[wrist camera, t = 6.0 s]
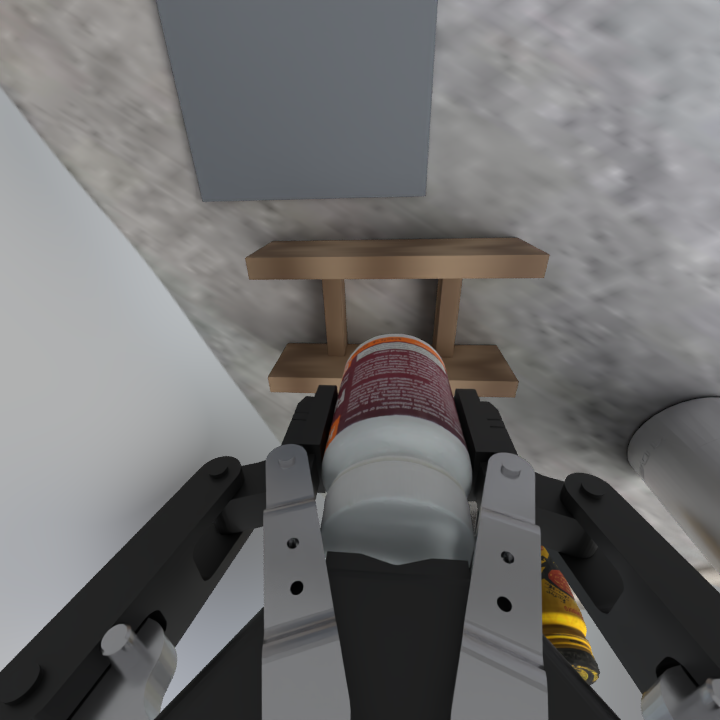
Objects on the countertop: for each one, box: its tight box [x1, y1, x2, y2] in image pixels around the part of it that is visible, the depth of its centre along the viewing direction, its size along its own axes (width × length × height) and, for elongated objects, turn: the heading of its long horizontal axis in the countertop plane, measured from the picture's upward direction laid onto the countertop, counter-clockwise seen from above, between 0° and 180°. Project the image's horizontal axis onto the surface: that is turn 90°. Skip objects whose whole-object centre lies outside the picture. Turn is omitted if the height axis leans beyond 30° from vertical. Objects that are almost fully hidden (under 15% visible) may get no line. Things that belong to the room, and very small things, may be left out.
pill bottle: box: [320, 334, 475, 565], centre depth 12 cm, size 5×5×8 cm
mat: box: [156, 0, 438, 202], centre depth 18 cm, size 14×14×1 cm
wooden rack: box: [245, 238, 549, 397], centre depth 22 cm, size 16×9×5 cm, turn 92°
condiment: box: [541, 546, 600, 685], centre depth 31 cm, size 7×8×12 cm
